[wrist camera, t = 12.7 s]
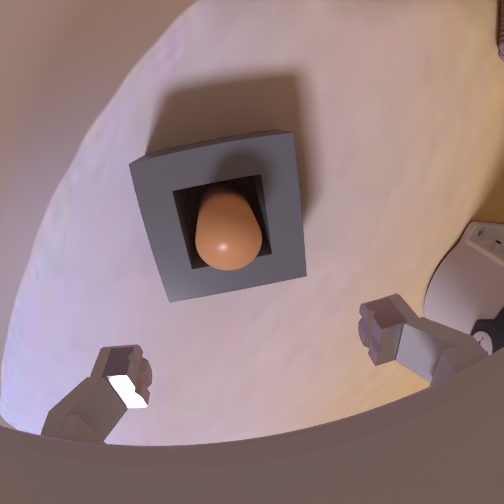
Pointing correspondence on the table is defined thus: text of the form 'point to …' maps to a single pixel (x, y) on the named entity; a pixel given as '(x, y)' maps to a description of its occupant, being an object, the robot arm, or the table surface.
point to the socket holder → (214, 170)
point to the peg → (226, 227)
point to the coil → (501, 33)
